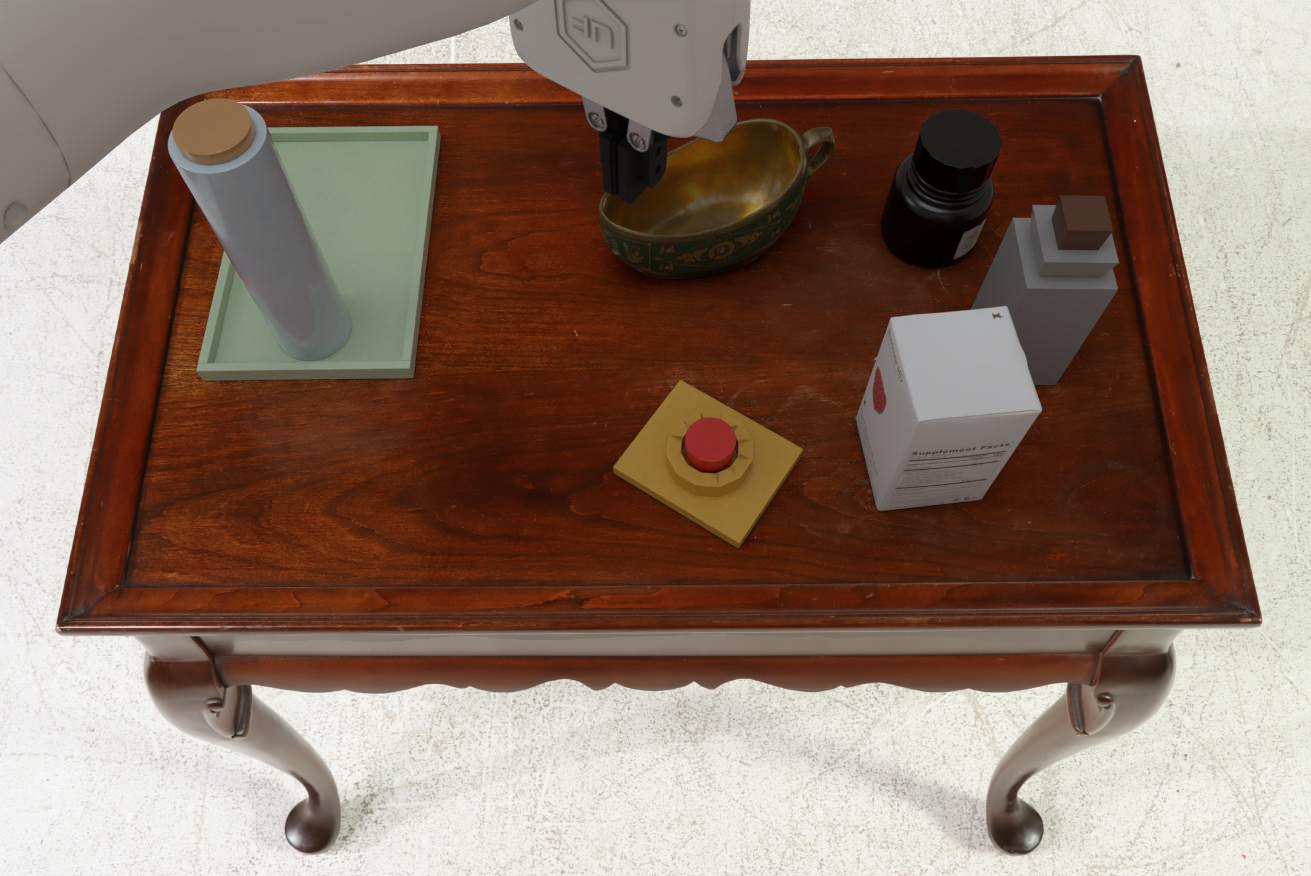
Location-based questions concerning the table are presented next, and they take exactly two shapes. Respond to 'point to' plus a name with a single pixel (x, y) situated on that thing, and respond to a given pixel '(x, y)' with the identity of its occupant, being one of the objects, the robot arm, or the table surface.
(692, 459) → the button
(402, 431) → the table surface
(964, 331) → the white product box
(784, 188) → the cup
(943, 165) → the ink bottle
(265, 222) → the grey cylinder
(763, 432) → the block
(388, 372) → the tray
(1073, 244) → the perfume bottle
